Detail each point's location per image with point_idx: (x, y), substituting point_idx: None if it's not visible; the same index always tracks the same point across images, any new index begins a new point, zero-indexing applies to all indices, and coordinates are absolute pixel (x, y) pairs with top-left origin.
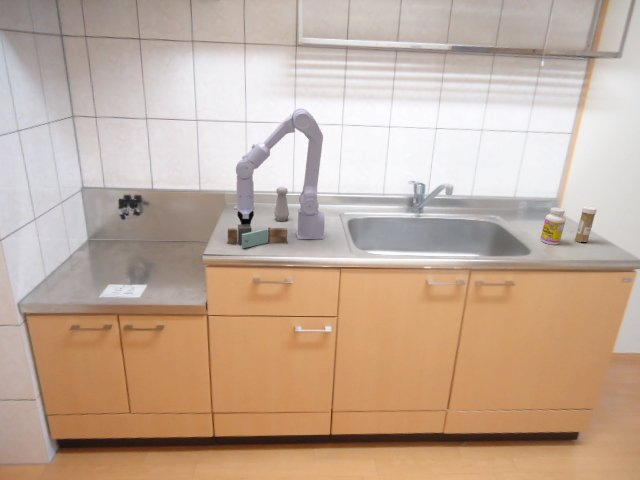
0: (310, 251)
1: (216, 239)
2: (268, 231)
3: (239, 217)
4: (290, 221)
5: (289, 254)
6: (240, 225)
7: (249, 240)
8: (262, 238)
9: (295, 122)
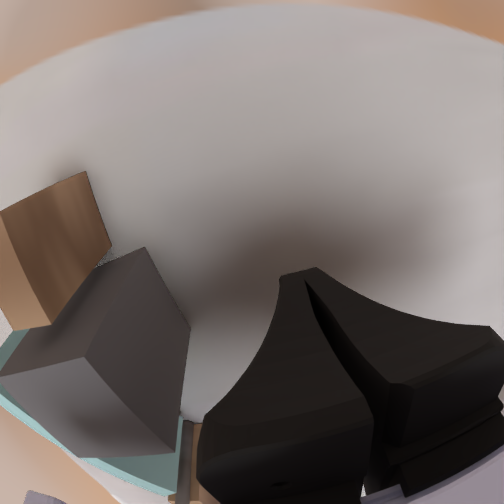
0: (157, 500)
1: (131, 37)
2: (177, 483)
3: (211, 425)
4: None
5: (96, 467)
6: (70, 386)
7: None
8: None
9: None
